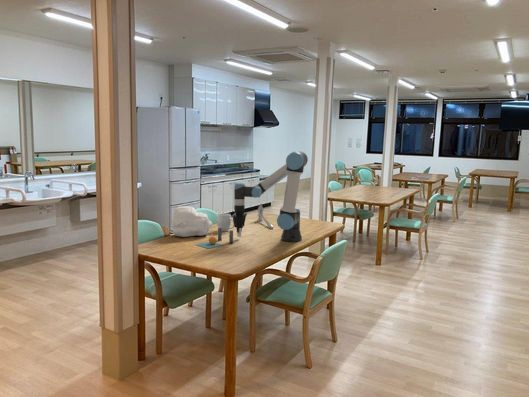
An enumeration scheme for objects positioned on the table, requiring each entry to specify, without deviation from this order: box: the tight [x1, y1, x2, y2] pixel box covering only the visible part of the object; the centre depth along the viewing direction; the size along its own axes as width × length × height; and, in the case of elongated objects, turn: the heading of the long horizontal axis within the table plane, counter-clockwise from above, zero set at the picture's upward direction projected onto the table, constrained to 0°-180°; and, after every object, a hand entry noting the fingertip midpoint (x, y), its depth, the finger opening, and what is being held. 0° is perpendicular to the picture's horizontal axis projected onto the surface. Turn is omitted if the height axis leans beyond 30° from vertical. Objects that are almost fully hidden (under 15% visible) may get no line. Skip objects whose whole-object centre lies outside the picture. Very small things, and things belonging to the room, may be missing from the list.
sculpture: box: [171, 205, 213, 238], centre depth 330 cm, size 26×22×30 cm
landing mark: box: [195, 241, 224, 250], centre depth 301 cm, size 14×14×1 cm
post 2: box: [228, 230, 234, 245], centre depth 306 cm, size 3×3×9 cm
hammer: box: [257, 203, 274, 230], centre depth 374 cm, size 5×16×40 cm
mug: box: [216, 212, 235, 232], centre depth 346 cm, size 15×11×13 cm
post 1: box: [217, 227, 223, 242], centre depth 314 cm, size 3×3×9 cm
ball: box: [208, 235, 218, 244], centre depth 303 cm, size 6×6×6 cm
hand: (239, 236), depth 319 cm, fingers closed
